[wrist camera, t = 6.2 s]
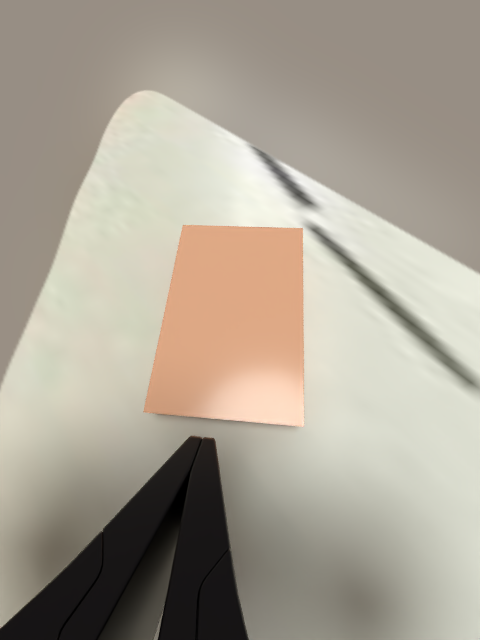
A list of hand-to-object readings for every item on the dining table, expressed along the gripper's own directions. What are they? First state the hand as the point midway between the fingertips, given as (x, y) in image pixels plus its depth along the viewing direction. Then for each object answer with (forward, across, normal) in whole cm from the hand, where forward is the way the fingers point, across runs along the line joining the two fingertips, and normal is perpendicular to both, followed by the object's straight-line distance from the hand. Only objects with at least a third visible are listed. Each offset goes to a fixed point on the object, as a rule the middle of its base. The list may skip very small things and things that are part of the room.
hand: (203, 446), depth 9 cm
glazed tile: (+4, 0, +3) cm, 5 cm away
